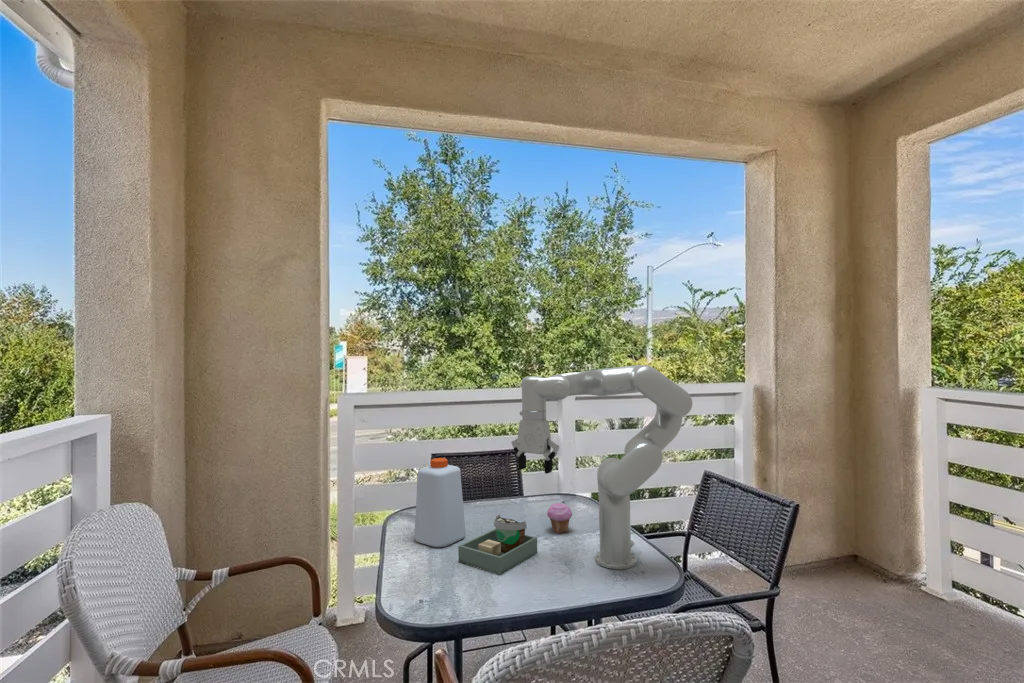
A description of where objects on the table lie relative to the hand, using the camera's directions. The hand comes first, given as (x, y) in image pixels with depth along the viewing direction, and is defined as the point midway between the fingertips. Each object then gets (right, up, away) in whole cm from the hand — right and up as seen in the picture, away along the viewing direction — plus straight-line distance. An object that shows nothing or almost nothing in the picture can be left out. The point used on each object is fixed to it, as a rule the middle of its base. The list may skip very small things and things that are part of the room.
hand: (535, 470), depth 158 cm
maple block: (-14, -28, 0) cm, 31 cm away
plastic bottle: (-33, -30, +20) cm, 48 cm away
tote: (-12, -29, +3) cm, 31 cm away
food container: (-9, -28, +6) cm, 30 cm away
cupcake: (+10, -29, +26) cm, 40 cm away
